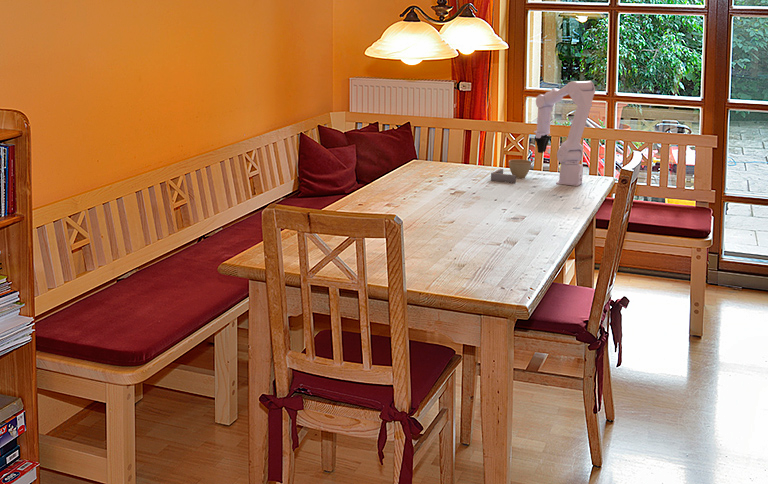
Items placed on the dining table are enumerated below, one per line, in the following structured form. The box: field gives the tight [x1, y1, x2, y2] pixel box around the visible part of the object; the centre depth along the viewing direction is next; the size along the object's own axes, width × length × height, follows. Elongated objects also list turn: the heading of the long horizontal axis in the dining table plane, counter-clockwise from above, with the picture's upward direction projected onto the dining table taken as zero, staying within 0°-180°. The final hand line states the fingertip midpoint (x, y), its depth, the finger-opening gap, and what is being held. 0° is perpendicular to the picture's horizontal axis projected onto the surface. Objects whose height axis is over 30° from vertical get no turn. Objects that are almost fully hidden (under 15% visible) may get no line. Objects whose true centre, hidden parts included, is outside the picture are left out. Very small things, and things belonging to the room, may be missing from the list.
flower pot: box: [508, 158, 532, 179], centre depth 368 cm, size 10×10×7 cm
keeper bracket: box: [490, 168, 517, 184], centre depth 362 cm, size 11×12×4 cm
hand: (541, 152), depth 372 cm, fingers open, 2 cm apart
